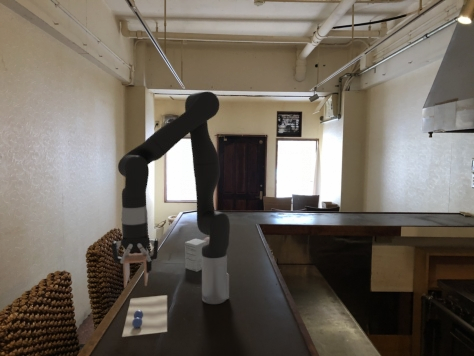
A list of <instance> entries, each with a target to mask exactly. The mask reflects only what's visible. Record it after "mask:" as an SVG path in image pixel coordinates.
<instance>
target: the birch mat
mask: <svg viewBox="0 0 474 356" xmlns="http://www.w3.org/2000/svg"><path fill="white" fill-rule="evenodd" d="M137 310H141V311H142V312H143V318H142V325H141V326H140V327H139V328H135V327H133V325H132V322H133V320H134V313H135V312H136V311H137ZM159 333H168V295H156V296H144V297H134V298H133V297H132V298H130V301H129V306H128V310H127V313H126V317H125V323H124V327H123V331H122V335H121V337H122V338H125V337H134V336H142V335H150V334H151V335H152V334H159Z"/></svg>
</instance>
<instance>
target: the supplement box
mask: <svg viewBox="0 0 474 356" xmlns="http://www.w3.org/2000/svg"><path fill="white" fill-rule="evenodd" d="M206 244H207V241H204V239H199V238H193V239H191V240H188V241H185V242H184V255H185V258H184V261H185V262H184V263H185V265H184V266H185V269H187V270H190V271H194V272H199V271H202V247H203V246H204V245H206Z"/></svg>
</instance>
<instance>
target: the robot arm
mask: <svg viewBox="0 0 474 356" xmlns="http://www.w3.org/2000/svg"><path fill="white" fill-rule="evenodd" d="M219 109H220V101H219V98H218V96H217V95H216V94H215V93H213V92H212V91H209V90H208V91H207V90H205V91H204V90H203V91H198V92H193V93H191V94H189V95H188V96H187V97H186V99H185V102H184V110H185V111H184V112H183V113H182V114H180V115H179V116H178V117H176V118H174V119H173V120H171V121H169V122H168V123H166V124H165V125H163V126H162V127H160V128H159V129H157V130H156V131H155V132H154V133H152V134H151V135H149V137H148V138H146V139H145V140H144V141H143V142H142V143H141V144H140V145H137V146H136V147H134V148H132V149H131V150H130V151H128V152H127V153H126V154H125V155H123V156H122V157H121V158H120V160H119V162H118V164H117V170H118V172H119V173H120V175H122V176H123V177H124V178H125V183H124V184H125V185H124V188H123V189H122V191H121V203H122V204H121V207H122V208H121V218H120V219H121V231H122V236H121V240H118V241H117V240H113V241H112V243H111V249H112V257H113V262H114V263H119V264H120V272H121V274H122V275H123V276H124V272H123V261H124V258H125V257H127V256H128V254H129V253H130V254H134V253H142V254H143V255H144V256H147V273H148V274H150V272H151V271H152V268H153V267H152V266H153V265H152V264H153V263H152V261H153V260H156V259H157V258H158V249H159V238H157V237H156V238H149V227H148V226H149V225H148V224H149V222H148V209H147V193H146V192H147V188H148V181H149V173H150V171H149V164H151V163H152V162H155V161H157V160H160V159H161V158H162V157H164V156H165V155H166V154H168V152H169V151H170V150H172V148H174V146H175V145H177V143H179V142H180V141H181V140H182V139H184V138H185V137H186V136H187V135H188V134H189V136H190V146H191V152H192V155H191V156H192V166H193V167H192V168H193V175H194V182H195V193H196V225H197V229H198V230H199V231H200V233H201V234H204V235H207V236H208V235H209V236H210V238H209V244H206V245H204V246H203V247H202V269H201V300H202V302H204V303H205V304H209V305H219V304H223V303H224V302H226V301H227V300H228V299H230V274H229V273H228V269H227V268H228V257H227V255H228V248H229V244H230V230H231V228H230V227H231V224H230V223H231V222H230V218H229V216H228V215H227V214H226V213H224V212H221V211H218V210H215V205H214V204H215V203H214V202H215V201H214V196H215V191H216V188H217V186H218V183H219V180H220V177H221V171H220V170H221V167H220V157H219V154H218V152H217V149H216V147H215V145H214V143H213V141H212V139H211V136H210V132H209V126H208V121H209V120H210V119H212V118H214V117H215V116H216V115H217V114H218V112H219ZM149 244H151V247H153V254H150V251H149V250H148V248H147V247H148V246H149ZM120 246H121V247H122V248H124V250H125V251H124V253H123V254H122V256H120V255H119V253H120V252H119V249H120Z"/></svg>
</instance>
